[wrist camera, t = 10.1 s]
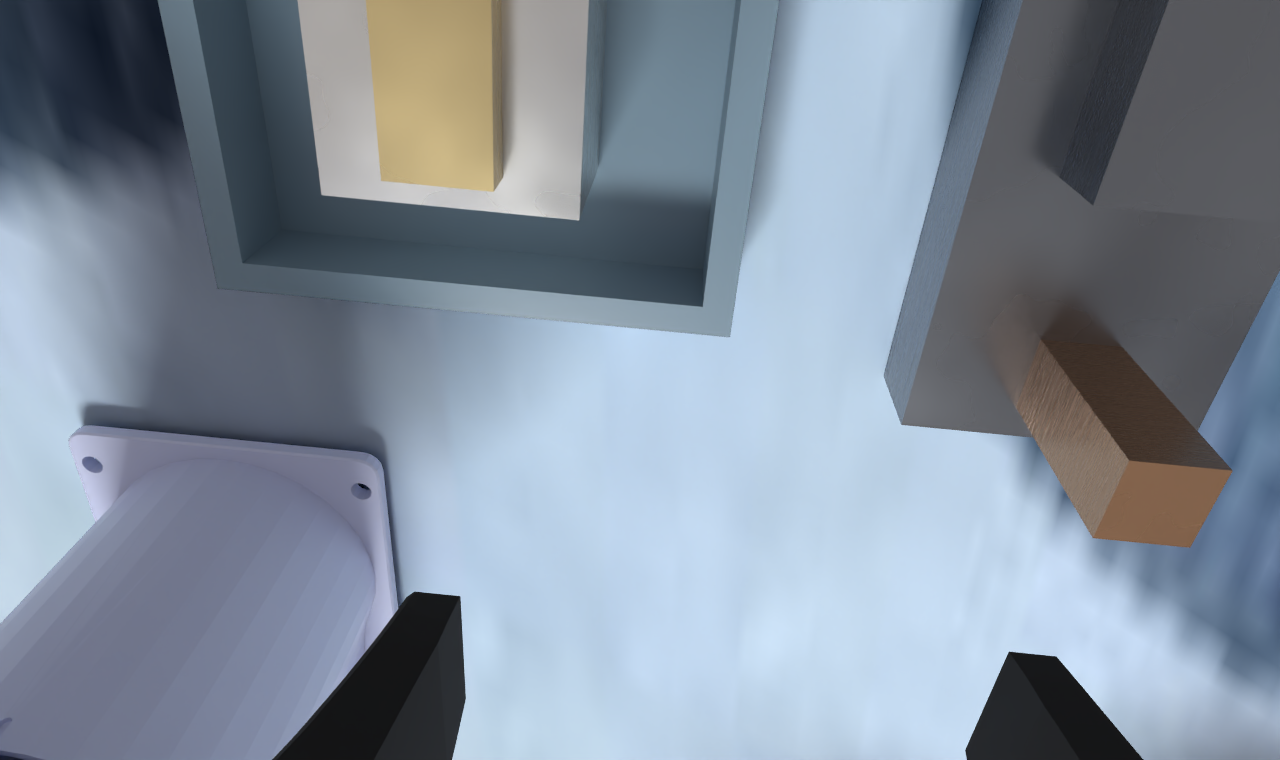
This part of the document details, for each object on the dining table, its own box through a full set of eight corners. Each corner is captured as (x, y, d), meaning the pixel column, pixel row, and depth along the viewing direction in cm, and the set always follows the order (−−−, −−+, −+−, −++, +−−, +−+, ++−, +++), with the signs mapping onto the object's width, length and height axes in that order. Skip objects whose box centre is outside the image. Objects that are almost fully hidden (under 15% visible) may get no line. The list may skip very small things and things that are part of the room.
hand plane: (1143, 401, 19) (1302, 591, 14) (883, 376, 19) (948, 556, 14) (1563, -513, 12) (2257, -824, 6) (1126, -547, 12) (1462, -879, 6)
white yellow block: (598, 167, 17) (573, 235, 14) (379, 146, 17) (304, 208, 14) (617, -197, 14) (592, -219, 10) (349, -221, 14) (242, -250, 10)
